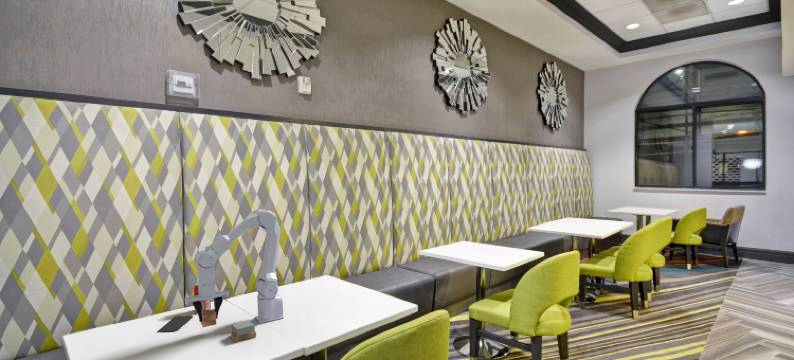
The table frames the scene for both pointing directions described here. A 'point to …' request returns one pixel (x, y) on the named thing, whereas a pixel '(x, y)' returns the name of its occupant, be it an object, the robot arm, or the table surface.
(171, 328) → the phone
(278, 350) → the table surface
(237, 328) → the tower top
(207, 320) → the terracotta block
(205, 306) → the soda can
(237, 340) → the tower base
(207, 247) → the robot arm
